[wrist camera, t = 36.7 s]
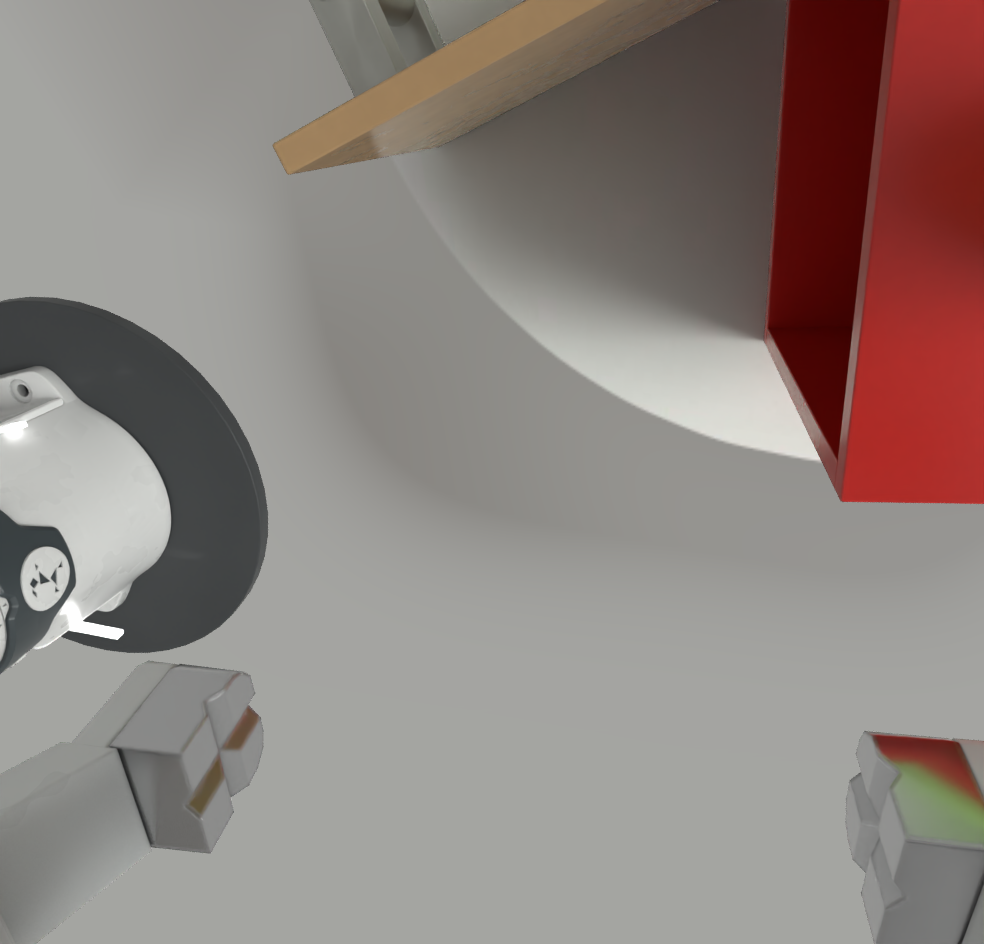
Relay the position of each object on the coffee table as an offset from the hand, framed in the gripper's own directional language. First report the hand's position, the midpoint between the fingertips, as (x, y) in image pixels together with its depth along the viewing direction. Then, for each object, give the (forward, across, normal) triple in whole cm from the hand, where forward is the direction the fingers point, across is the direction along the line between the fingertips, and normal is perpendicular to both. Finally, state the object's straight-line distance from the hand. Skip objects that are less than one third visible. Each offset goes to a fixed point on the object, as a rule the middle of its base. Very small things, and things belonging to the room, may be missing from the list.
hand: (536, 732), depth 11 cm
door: (+37, +3, -11) cm, 39 cm away
